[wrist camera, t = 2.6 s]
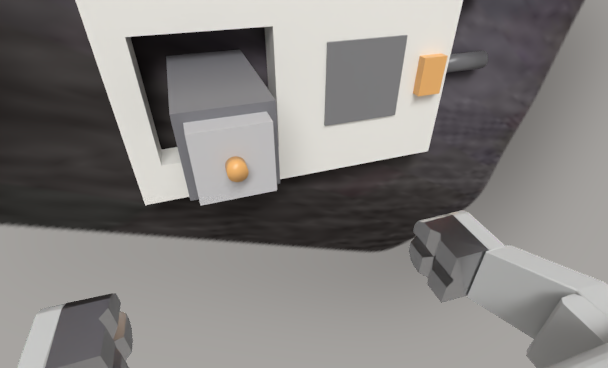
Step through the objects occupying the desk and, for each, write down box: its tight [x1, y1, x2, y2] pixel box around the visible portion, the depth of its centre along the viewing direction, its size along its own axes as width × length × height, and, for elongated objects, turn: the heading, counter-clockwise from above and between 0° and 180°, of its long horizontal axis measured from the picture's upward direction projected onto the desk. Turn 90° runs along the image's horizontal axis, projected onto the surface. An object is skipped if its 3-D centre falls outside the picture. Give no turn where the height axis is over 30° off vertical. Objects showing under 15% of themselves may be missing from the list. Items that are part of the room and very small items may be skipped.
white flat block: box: [75, 0, 488, 205], centre depth 21 cm, size 24×12×3 cm, turn 91°
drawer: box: [166, 49, 280, 206], centre depth 17 cm, size 4×4×10 cm
